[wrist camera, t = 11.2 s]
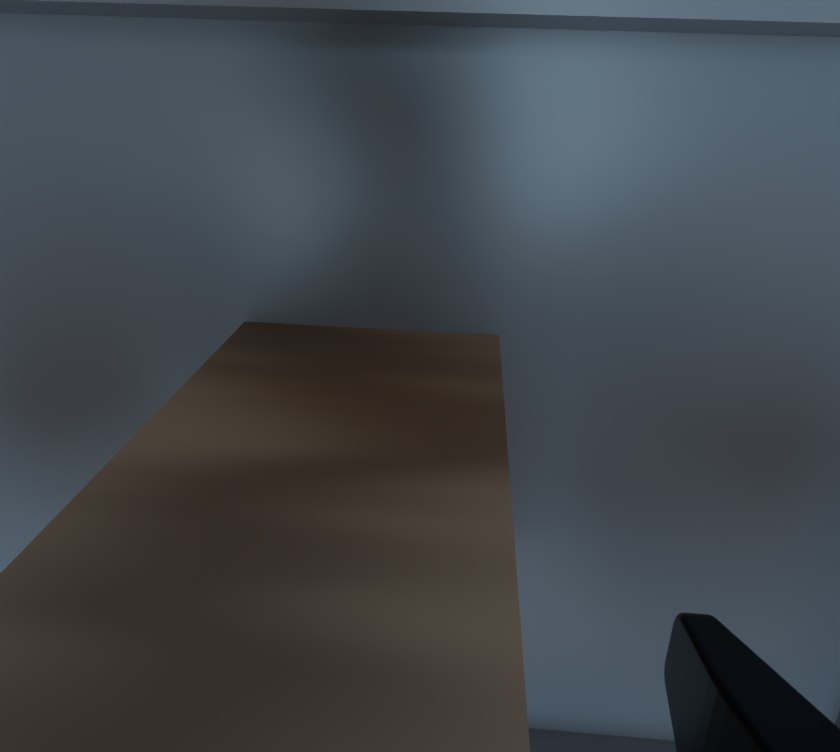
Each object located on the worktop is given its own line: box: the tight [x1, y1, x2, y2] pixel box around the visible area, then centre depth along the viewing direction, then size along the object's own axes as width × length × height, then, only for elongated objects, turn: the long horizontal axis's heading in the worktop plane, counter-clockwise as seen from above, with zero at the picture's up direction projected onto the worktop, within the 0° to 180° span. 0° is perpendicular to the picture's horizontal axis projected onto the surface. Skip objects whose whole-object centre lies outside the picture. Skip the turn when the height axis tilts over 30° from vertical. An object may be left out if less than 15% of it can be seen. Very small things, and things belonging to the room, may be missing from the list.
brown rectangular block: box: [0, 322, 530, 752], centre depth 9 cm, size 5×5×10 cm
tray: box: [0, 0, 840, 752], centre depth 12 cm, size 22×16×3 cm
